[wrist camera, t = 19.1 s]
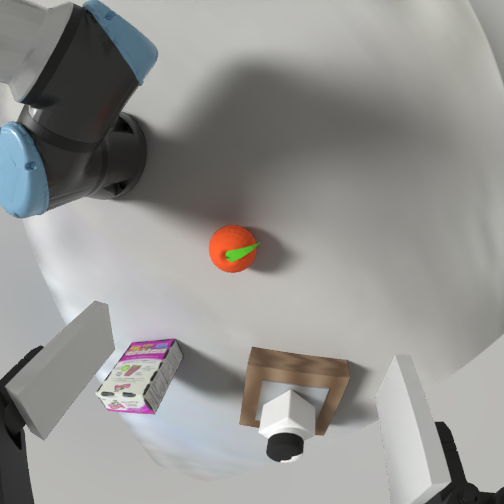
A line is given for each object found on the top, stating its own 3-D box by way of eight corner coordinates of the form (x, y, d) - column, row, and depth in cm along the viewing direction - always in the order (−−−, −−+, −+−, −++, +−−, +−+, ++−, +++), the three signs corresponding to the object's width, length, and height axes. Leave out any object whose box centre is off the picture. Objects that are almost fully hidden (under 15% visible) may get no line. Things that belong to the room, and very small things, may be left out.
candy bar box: (141, 360, 61) (107, 411, 46) (131, 341, 60) (93, 392, 44) (185, 357, 58) (155, 416, 43) (176, 337, 57) (141, 395, 42)
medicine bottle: (262, 404, 53) (253, 454, 42) (290, 388, 50) (286, 441, 39) (288, 421, 54) (282, 470, 43) (316, 406, 51) (315, 458, 40)
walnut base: (243, 407, 61) (239, 425, 56) (252, 346, 55) (247, 365, 50) (323, 418, 59) (323, 436, 55) (347, 360, 53) (350, 379, 48)
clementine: (256, 211, 46) (248, 223, 39) (272, 252, 48) (267, 271, 41) (209, 228, 48) (194, 242, 42) (226, 267, 50) (214, 286, 43)
